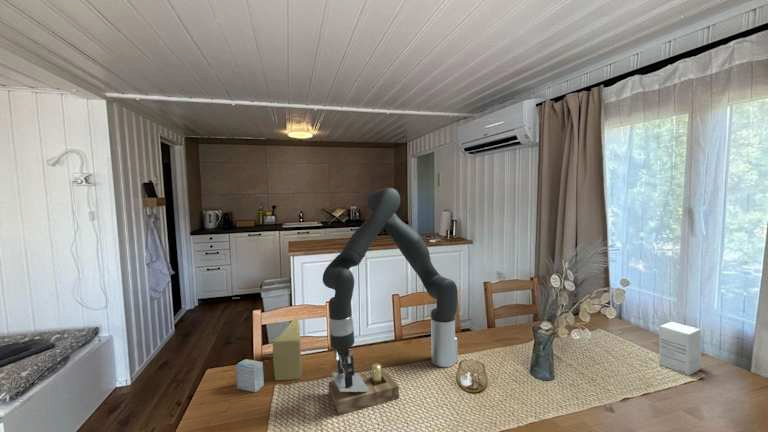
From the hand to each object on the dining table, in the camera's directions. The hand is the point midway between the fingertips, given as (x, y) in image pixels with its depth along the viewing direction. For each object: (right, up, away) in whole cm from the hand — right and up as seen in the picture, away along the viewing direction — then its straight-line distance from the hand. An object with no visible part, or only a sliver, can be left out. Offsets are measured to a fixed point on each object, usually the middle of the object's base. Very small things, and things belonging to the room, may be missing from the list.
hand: (345, 379), depth 101 cm
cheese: (-23, -7, +24) cm, 34 cm away
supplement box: (+121, -4, +16) cm, 122 cm away
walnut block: (+6, -7, +3) cm, 9 cm away
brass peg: (+10, -7, +4) cm, 13 cm away
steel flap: (+1, -2, +1) cm, 2 cm away
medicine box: (-34, -8, +9) cm, 36 cm away
